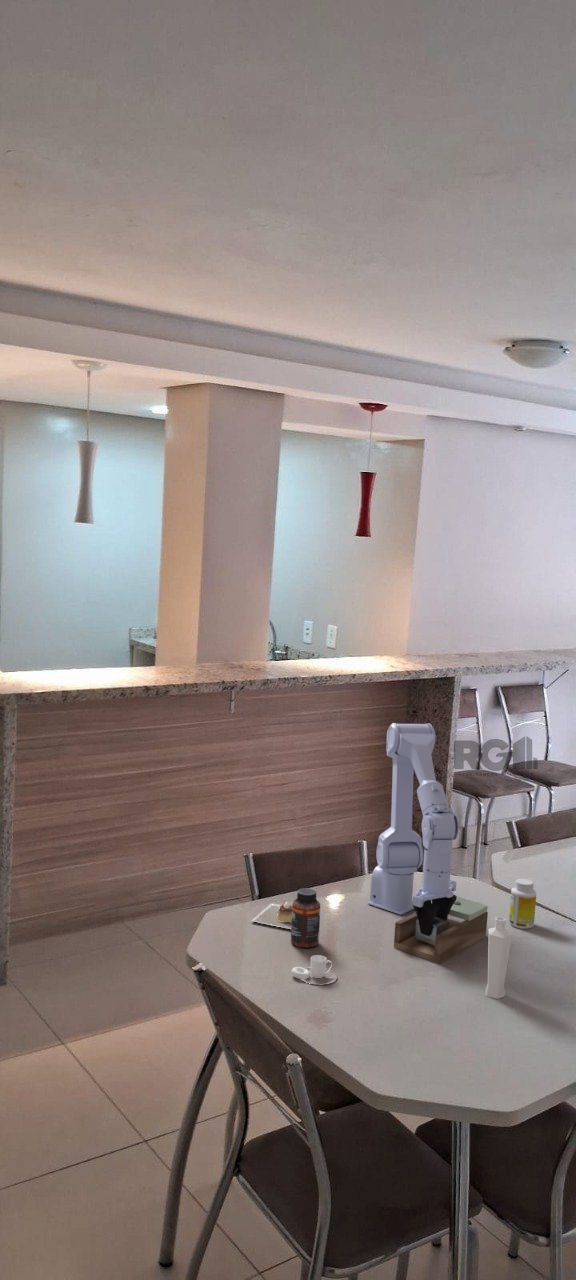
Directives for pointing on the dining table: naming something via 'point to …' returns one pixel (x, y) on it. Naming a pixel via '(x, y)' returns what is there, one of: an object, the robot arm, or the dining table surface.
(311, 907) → the supplement bottle
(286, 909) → the dessert
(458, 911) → the cover
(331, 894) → the dining table surface
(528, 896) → the supplement bottle
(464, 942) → the housing
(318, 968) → the teacup and saucer
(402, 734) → the robot arm
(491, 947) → the perfume bottle
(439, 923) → the grey hollow square block
